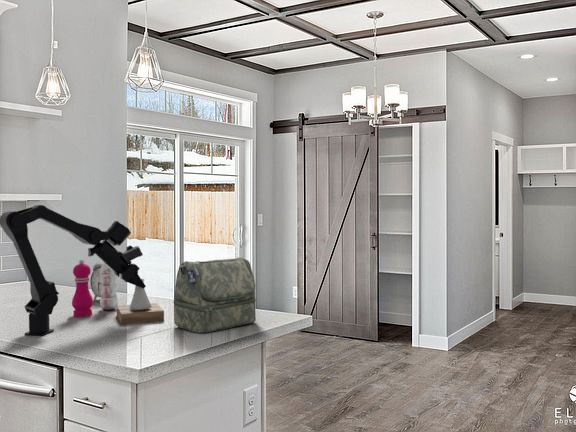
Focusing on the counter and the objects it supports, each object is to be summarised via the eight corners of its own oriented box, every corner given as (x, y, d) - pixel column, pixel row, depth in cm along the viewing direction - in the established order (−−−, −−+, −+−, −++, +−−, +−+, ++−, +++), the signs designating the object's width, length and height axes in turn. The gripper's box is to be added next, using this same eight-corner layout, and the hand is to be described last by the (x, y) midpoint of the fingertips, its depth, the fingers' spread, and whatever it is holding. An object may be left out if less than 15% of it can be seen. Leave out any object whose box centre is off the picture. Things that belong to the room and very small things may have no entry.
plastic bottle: (99, 311, 226) (98, 257, 226) (100, 308, 233) (99, 255, 232) (118, 310, 228) (116, 257, 228) (118, 307, 235) (116, 255, 234)
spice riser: (164, 321, 209) (163, 310, 208) (121, 324, 204) (121, 313, 203) (156, 312, 224) (156, 303, 223) (116, 315, 219) (116, 306, 218)
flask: (143, 305, 216) (142, 277, 216) (155, 307, 211) (154, 278, 211) (125, 309, 211) (124, 280, 210) (137, 311, 206) (136, 281, 205)
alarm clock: (90, 299, 254) (89, 263, 254) (104, 297, 259) (103, 261, 259) (105, 302, 246) (105, 265, 246) (120, 300, 252) (119, 263, 251)
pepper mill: (86, 317, 216) (85, 260, 215) (68, 316, 218) (66, 260, 217) (97, 313, 223) (96, 258, 223) (78, 313, 225) (77, 258, 224)
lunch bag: (197, 336, 185) (196, 264, 184) (165, 327, 198) (164, 259, 198) (263, 323, 203) (263, 257, 202) (230, 316, 216) (229, 254, 215)
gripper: (132, 240, 200) (166, 272, 205) (123, 236, 217) (154, 266, 222) (107, 265, 197) (142, 297, 202) (100, 260, 214) (132, 289, 219)
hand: (143, 286), depth 211 cm, fingers closed on flask, 3 cm apart
